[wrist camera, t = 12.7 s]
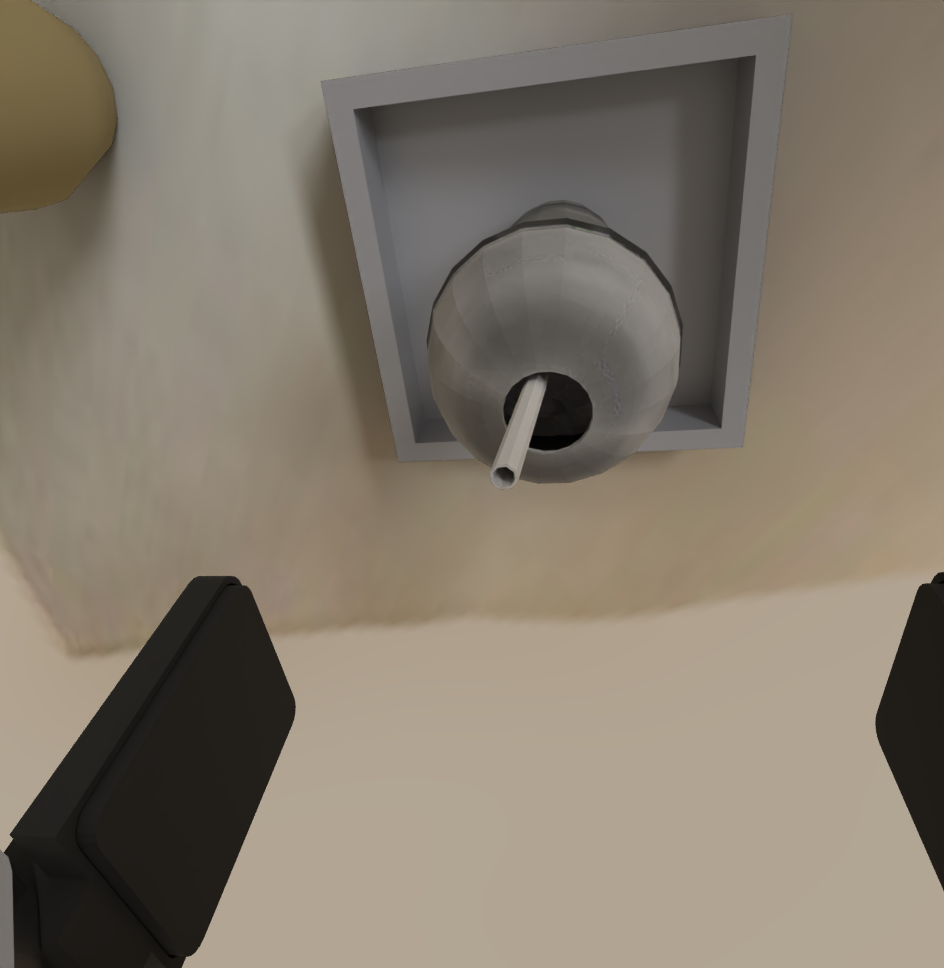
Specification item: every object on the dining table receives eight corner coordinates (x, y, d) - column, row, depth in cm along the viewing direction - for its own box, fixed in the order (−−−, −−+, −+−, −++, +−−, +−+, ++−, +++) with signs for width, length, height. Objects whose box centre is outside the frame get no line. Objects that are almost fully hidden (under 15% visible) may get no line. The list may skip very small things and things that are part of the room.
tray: (347, 79, 27) (320, 81, 24) (764, 19, 24) (792, 13, 21) (412, 428, 35) (398, 462, 32) (726, 412, 32) (743, 447, 30)
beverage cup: (528, 364, 31) (479, 709, 14) (442, 227, 28) (257, 459, 12) (674, 284, 28) (820, 596, 12) (594, 123, 26) (636, 230, 9)
